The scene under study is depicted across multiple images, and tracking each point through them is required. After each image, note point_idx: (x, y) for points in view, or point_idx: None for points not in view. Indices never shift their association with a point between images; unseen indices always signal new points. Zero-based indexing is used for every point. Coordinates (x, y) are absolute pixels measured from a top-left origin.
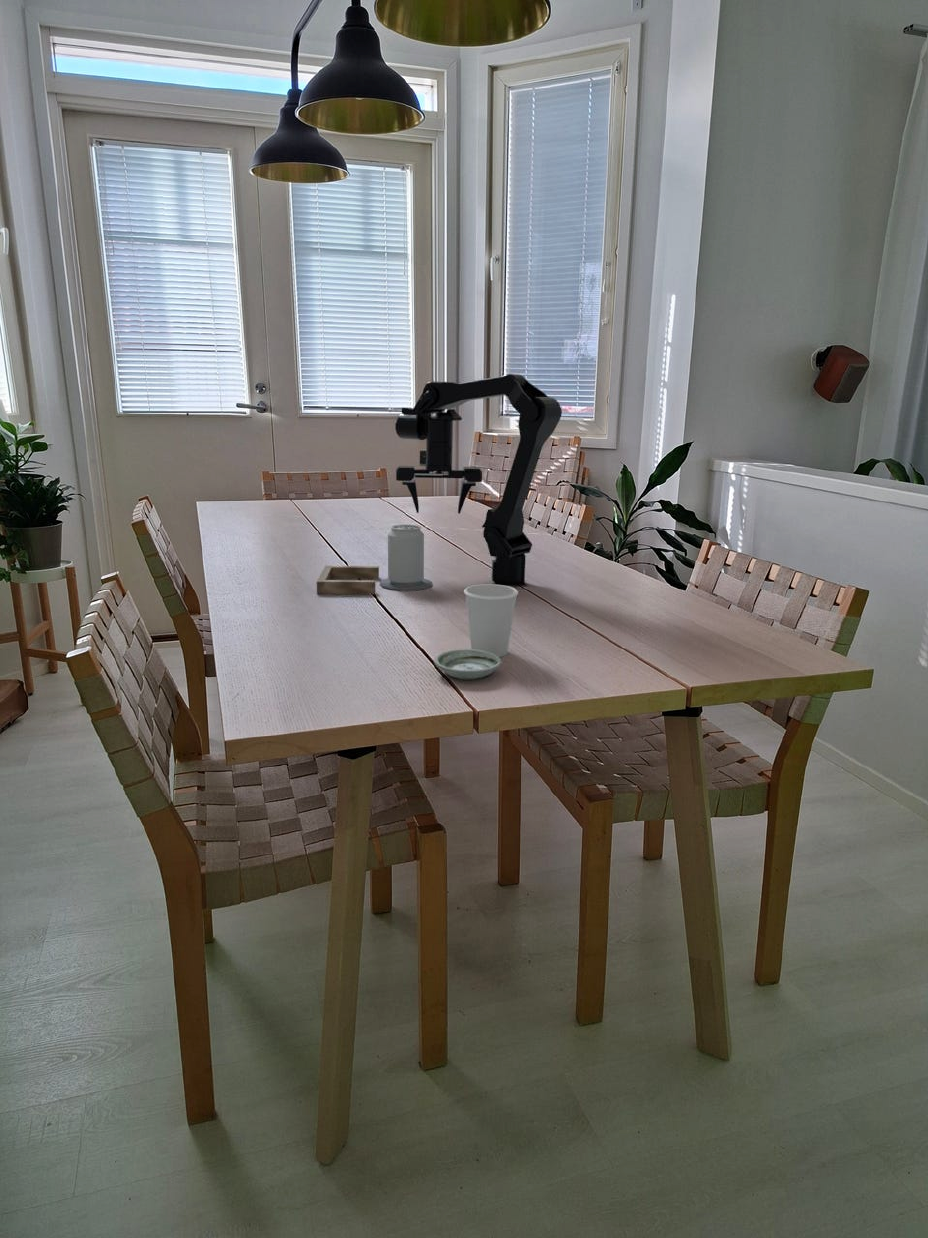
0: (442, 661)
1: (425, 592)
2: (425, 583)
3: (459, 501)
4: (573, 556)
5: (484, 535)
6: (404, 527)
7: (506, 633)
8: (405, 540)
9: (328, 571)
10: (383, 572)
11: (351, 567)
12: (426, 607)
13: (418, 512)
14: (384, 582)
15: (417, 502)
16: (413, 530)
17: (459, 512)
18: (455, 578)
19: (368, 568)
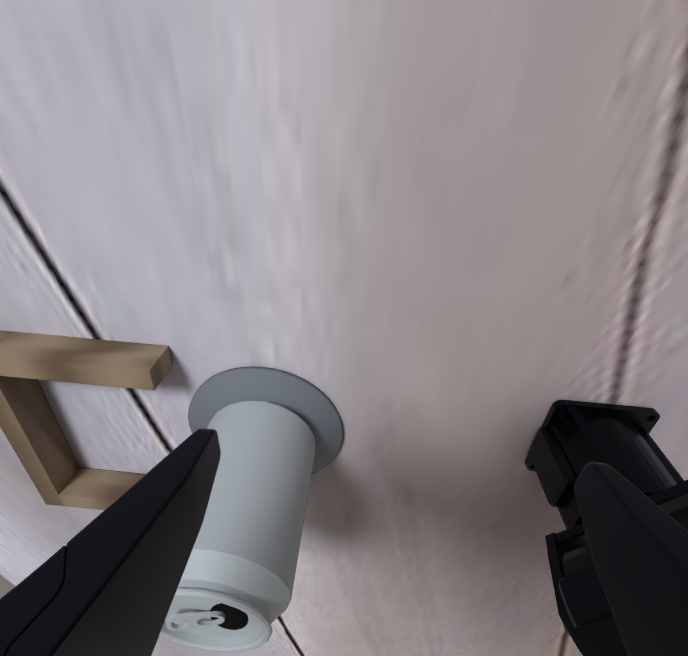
0: None
1: (319, 487)
2: (321, 442)
3: (627, 631)
4: None
5: (563, 594)
6: (198, 618)
7: None
8: (227, 609)
9: (16, 423)
10: (165, 273)
11: (60, 380)
12: (317, 561)
13: (219, 459)
14: (202, 424)
15: (177, 574)
16: (244, 644)
17: (585, 500)
18: (429, 373)
19: (121, 384)
